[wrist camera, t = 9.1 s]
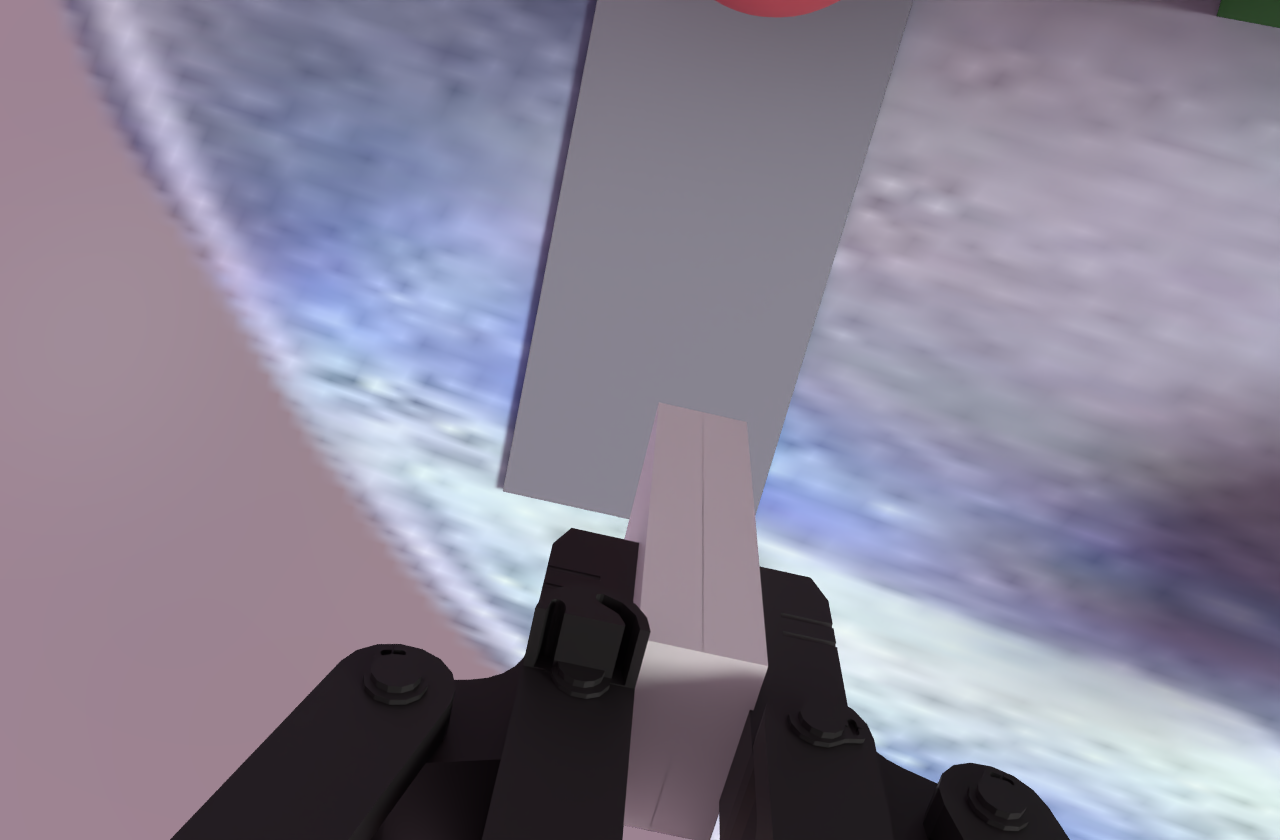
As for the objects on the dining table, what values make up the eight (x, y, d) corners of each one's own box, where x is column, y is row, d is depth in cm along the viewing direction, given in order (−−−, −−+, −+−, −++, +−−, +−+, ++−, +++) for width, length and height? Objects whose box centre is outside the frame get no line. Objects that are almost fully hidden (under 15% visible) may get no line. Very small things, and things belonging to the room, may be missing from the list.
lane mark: (719, -630, 24) (719, -635, 23) (1075, -535, 24) (1078, -538, 24) (503, 488, 35) (502, 491, 35) (745, 541, 36) (746, 544, 35)
